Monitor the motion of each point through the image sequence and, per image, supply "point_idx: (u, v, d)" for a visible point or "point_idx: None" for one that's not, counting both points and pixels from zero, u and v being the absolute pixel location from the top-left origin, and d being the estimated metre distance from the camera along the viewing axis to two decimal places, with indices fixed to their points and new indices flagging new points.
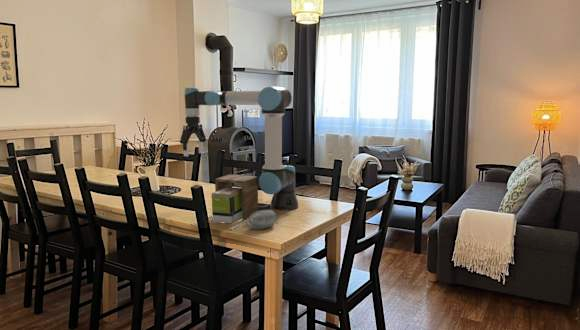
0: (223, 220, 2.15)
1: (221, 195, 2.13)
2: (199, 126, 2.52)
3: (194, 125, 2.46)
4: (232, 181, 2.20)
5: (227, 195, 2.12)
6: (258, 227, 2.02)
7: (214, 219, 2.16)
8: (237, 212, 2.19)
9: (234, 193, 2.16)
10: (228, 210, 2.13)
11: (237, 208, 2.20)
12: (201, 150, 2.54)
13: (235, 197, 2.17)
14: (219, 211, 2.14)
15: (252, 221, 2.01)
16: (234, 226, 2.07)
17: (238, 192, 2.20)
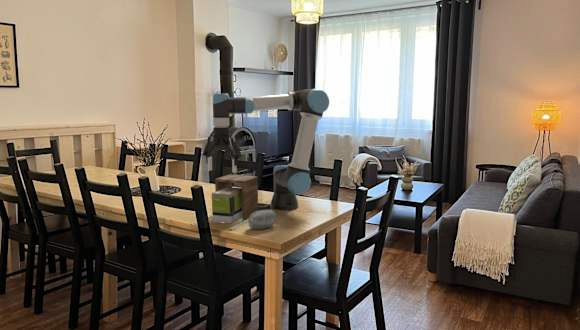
0: (223, 220, 2.15)
1: (221, 195, 2.13)
2: None
3: (220, 137, 2.11)
4: (232, 181, 2.20)
5: (227, 195, 2.12)
6: (258, 227, 2.02)
7: (214, 219, 2.16)
8: (237, 212, 2.19)
9: (234, 193, 2.16)
10: (228, 210, 2.13)
11: (237, 208, 2.20)
12: None
13: (235, 197, 2.17)
14: (219, 211, 2.14)
15: (252, 221, 2.01)
16: (234, 226, 2.07)
17: (238, 192, 2.20)
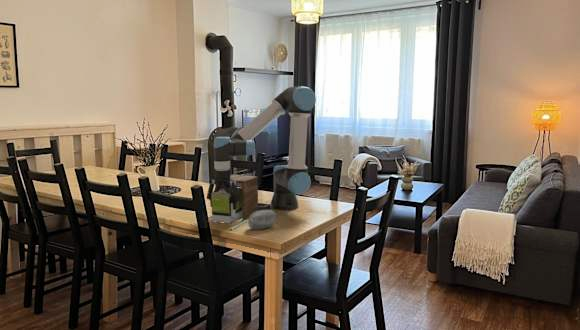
0: (223, 220, 2.15)
1: (221, 195, 2.13)
2: None
3: (221, 180, 2.14)
4: None
5: (227, 195, 2.12)
6: (258, 227, 2.02)
7: (214, 219, 2.16)
8: (236, 212, 2.19)
9: None
10: (227, 210, 2.13)
11: (237, 207, 2.20)
12: None
13: None
14: (218, 211, 2.15)
15: (252, 221, 2.01)
16: (234, 226, 2.07)
17: (238, 192, 2.20)
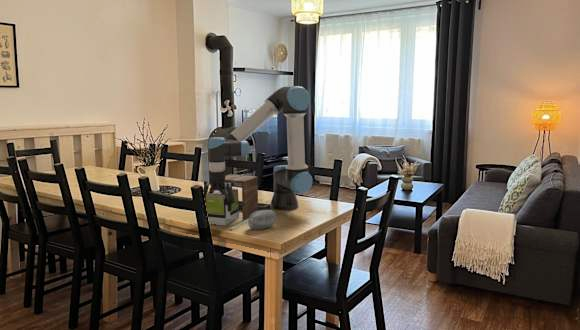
0: (217, 222, 2.11)
1: (215, 196, 2.09)
2: None
3: (216, 181, 2.10)
4: (232, 181, 2.20)
5: (221, 196, 2.08)
6: (258, 227, 2.02)
7: None
8: (231, 214, 2.15)
9: None
10: (222, 212, 2.09)
11: (232, 209, 2.16)
12: None
13: None
14: (213, 212, 2.11)
15: (252, 221, 2.01)
16: (234, 226, 2.07)
17: (233, 193, 2.16)
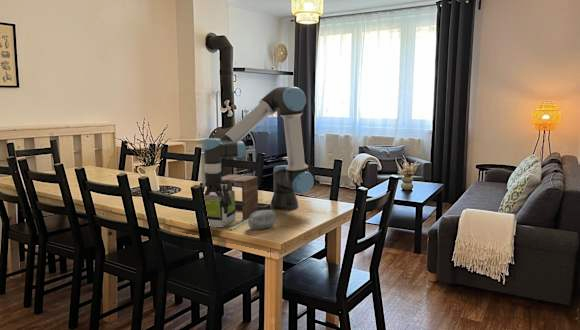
0: (213, 224, 2.08)
1: (211, 198, 2.06)
2: None
3: (212, 183, 2.07)
4: (232, 181, 2.20)
5: (217, 198, 2.05)
6: (258, 227, 2.02)
7: None
8: (228, 216, 2.12)
9: None
10: (218, 214, 2.06)
11: (228, 211, 2.13)
12: None
13: None
14: (209, 215, 2.07)
15: (252, 221, 2.01)
16: (234, 226, 2.07)
17: (229, 195, 2.13)
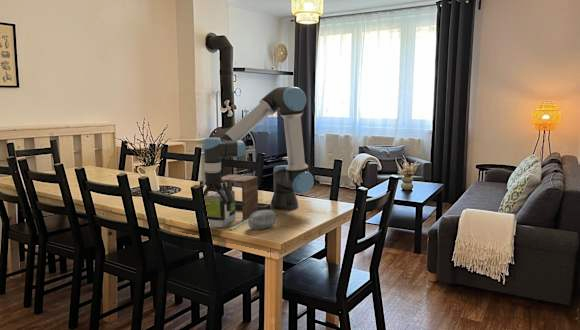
0: (213, 224, 2.08)
1: (211, 198, 2.06)
2: None
3: (212, 182, 2.06)
4: (232, 181, 2.20)
5: (217, 198, 2.05)
6: (258, 227, 2.02)
7: None
8: None
9: None
10: (218, 214, 2.06)
11: None
12: None
13: None
14: (209, 215, 2.07)
15: (252, 221, 2.01)
16: (234, 226, 2.07)
17: None
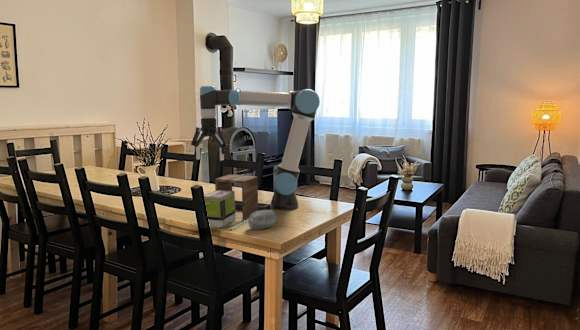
0: (213, 224, 2.08)
1: (211, 198, 2.06)
2: None
3: (207, 127, 2.24)
4: (232, 181, 2.20)
5: (217, 198, 2.05)
6: (258, 227, 2.02)
7: None
8: (228, 216, 2.12)
9: (225, 196, 2.09)
10: (218, 214, 2.06)
11: (228, 211, 2.13)
12: None
13: (226, 201, 2.10)
14: (209, 215, 2.07)
15: (252, 221, 2.01)
16: (234, 226, 2.07)
17: (229, 195, 2.13)
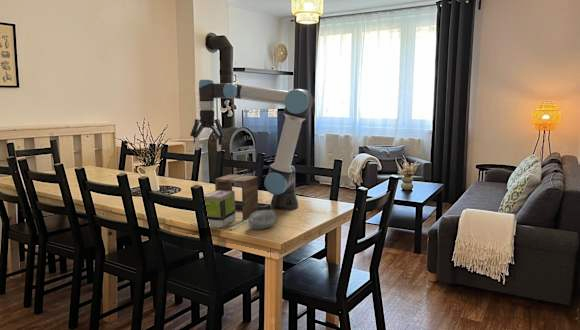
0: (213, 224, 2.08)
1: (211, 198, 2.06)
2: None
3: (205, 119, 2.34)
4: (232, 181, 2.20)
5: (218, 198, 2.05)
6: (258, 227, 2.02)
7: None
8: (228, 216, 2.12)
9: (225, 196, 2.09)
10: (218, 214, 2.06)
11: (228, 211, 2.13)
12: None
13: (226, 201, 2.10)
14: (209, 215, 2.07)
15: (252, 221, 2.01)
16: (234, 226, 2.07)
17: (229, 195, 2.13)
